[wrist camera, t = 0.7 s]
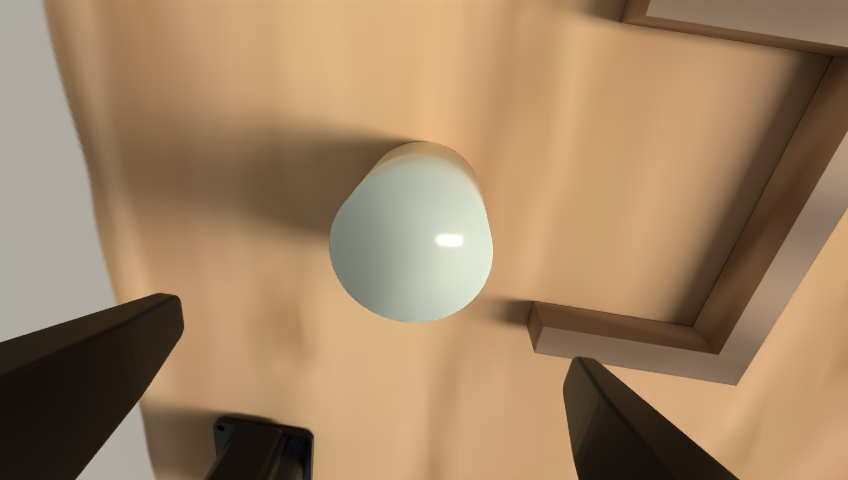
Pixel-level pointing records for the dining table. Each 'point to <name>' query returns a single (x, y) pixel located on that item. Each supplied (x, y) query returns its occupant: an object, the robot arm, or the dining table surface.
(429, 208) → the white rounded canister
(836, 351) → the dining table surface
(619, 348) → the dock
